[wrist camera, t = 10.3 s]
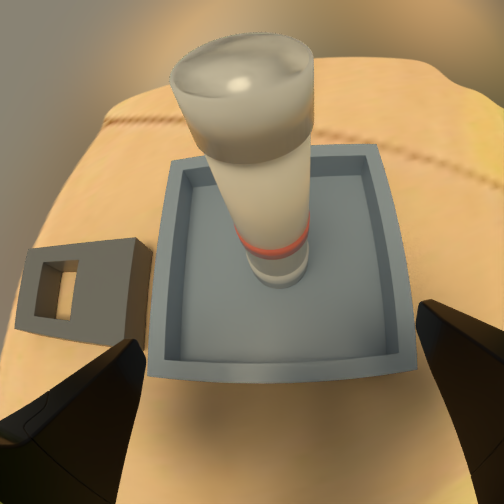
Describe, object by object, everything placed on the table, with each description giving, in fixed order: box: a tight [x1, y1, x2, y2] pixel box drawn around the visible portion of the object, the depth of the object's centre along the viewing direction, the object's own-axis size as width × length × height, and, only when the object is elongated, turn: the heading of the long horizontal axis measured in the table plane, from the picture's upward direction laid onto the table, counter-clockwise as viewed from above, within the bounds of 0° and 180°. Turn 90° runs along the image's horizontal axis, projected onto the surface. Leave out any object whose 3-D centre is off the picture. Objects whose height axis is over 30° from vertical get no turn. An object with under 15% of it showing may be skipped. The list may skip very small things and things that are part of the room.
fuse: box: [169, 32, 314, 289], centre depth 12 cm, size 3×3×13 cm
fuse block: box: [14, 237, 152, 351], centre depth 19 cm, size 7×12×2 cm, turn 90°
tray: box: [147, 144, 417, 383], centre depth 17 cm, size 14×14×3 cm
